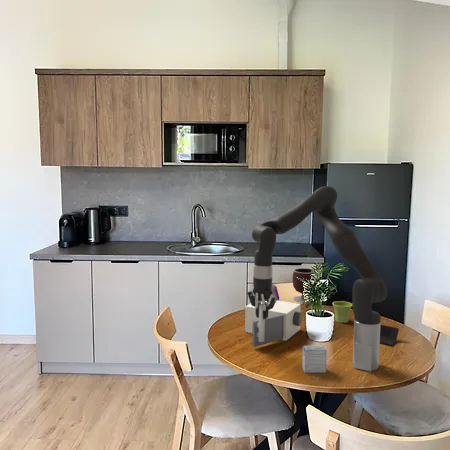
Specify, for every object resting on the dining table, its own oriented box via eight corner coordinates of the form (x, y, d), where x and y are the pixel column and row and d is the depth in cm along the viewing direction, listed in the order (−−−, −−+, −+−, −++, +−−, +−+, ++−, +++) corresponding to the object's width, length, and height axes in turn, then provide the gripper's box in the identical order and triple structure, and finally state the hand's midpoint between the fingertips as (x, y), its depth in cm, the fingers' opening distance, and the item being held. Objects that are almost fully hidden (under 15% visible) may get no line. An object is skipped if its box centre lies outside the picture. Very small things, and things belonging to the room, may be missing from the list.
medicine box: (323, 367, 160) (323, 345, 159) (326, 373, 155) (327, 349, 154) (301, 367, 159) (302, 345, 158) (304, 373, 155) (305, 350, 154)
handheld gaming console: (365, 338, 184) (371, 317, 188) (366, 343, 190) (372, 323, 194) (393, 347, 179) (399, 325, 183) (393, 352, 184) (399, 331, 188)
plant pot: (328, 320, 211) (328, 303, 210) (339, 316, 217) (340, 299, 217) (344, 325, 204) (344, 307, 203) (355, 321, 210) (356, 304, 209)
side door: (288, 341, 182) (289, 299, 180) (259, 350, 173) (260, 306, 171) (281, 338, 186) (282, 297, 184) (252, 346, 177) (252, 303, 175)
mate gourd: (291, 302, 242) (291, 267, 239) (293, 295, 255) (293, 262, 253) (319, 304, 238) (320, 268, 236) (319, 297, 251) (320, 263, 249)
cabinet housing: (290, 341, 184) (291, 312, 183) (245, 332, 196) (245, 304, 194) (304, 330, 198) (304, 302, 196) (260, 321, 209) (261, 295, 208)
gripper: (282, 277, 170) (281, 319, 172) (253, 271, 179) (252, 312, 181) (272, 280, 164) (271, 324, 166) (243, 274, 173) (242, 316, 175)
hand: (261, 317), depth 174 cm, fingers closed on side door, 2 cm apart
